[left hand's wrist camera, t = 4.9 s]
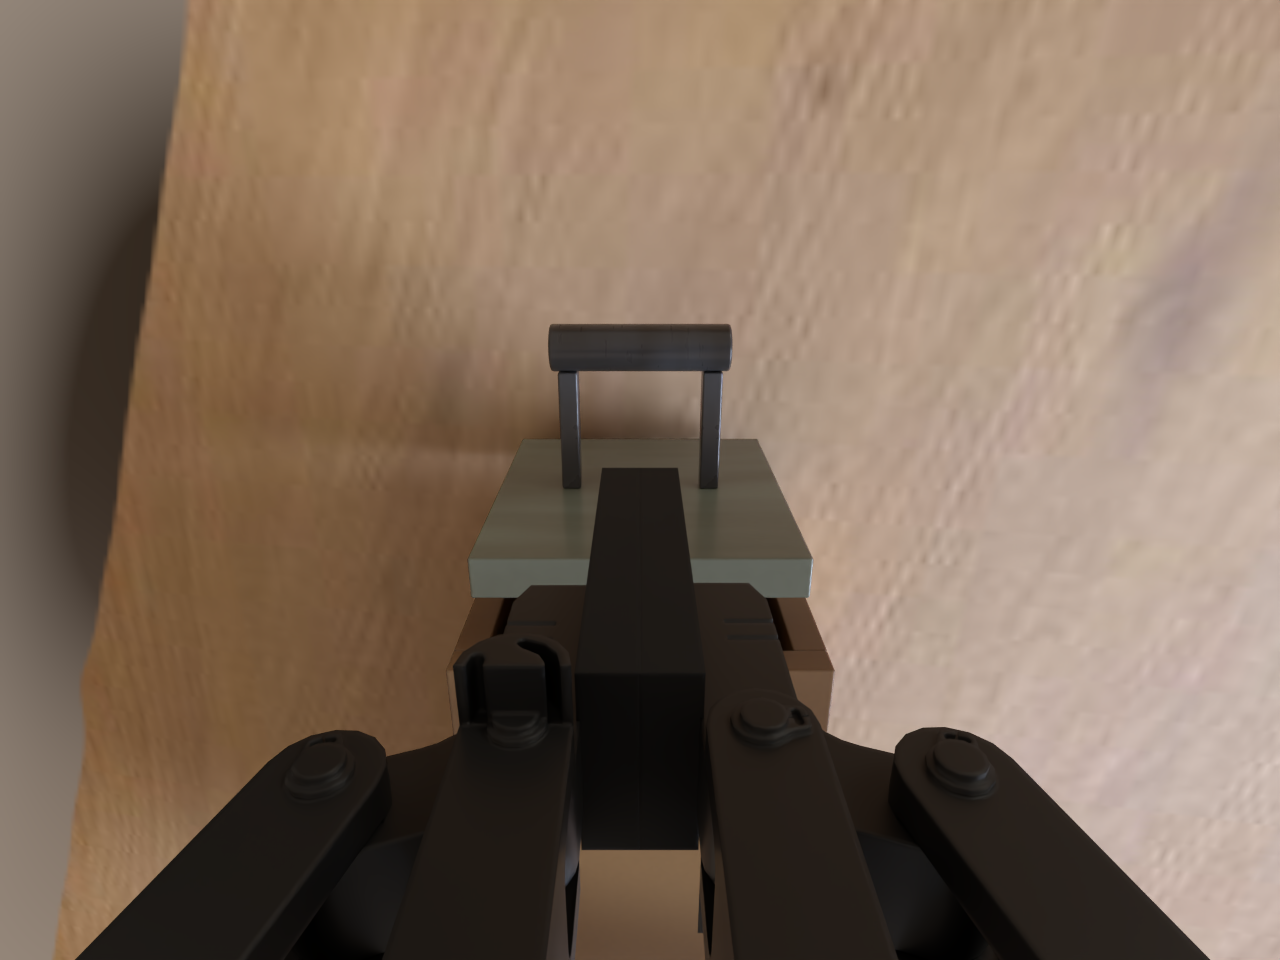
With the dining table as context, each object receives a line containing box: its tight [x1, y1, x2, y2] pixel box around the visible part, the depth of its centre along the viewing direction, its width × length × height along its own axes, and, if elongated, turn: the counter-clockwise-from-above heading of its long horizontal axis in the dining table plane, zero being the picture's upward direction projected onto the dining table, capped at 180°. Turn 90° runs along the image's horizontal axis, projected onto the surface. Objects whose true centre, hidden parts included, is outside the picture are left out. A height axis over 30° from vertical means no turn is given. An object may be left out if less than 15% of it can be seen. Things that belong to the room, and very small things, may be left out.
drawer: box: [468, 324, 813, 598], centre depth 26 cm, size 24×9×10 cm, turn 0°
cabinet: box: [446, 598, 835, 960], centre depth 28 cm, size 20×10×12 cm, turn 0°
